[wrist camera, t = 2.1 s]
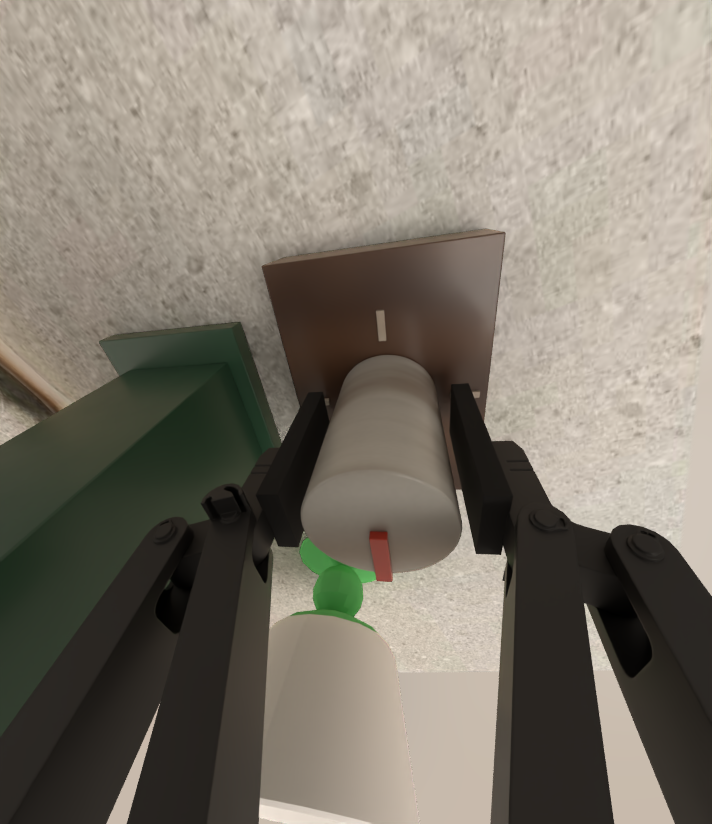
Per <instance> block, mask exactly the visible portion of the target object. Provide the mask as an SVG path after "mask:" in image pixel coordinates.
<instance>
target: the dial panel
mask: <svg viewBox="0 0 712 824" xmlns="http://www.w3.org/2000/svg"><path fill="white" fill-rule="evenodd" d="M504 242H505V232H501V231H496V230H491V229H481V230H474V231H466V232H459V233H452V234H445V235H438V236H431V237H424V238H417V239H410V240H403V241H396V242H389V243H382V244H375V245H368V246H361V247H354V248H347V249H340V250H333V251H326V252H319V253H312V254H305V255H298V256H291V257H284V258H281V259H279V260H276V261H273V262H271V263H268V264H266V265H263V266H262V270H263V273H264V277H265V280H266V284H267V288H268V291H269V295H270V299H271V302H272V306H273V310H274V313H275V317H276V321H277V324H278V328H279V332H280V335H281V339H282V343H283V346H284V350H285V353H286V357H287V361H288V364H289V368H290V372H291V375H292V379H293V383H294V386H295V390H296V394H297V397H298V401H299V405H300V408H301V406H302V404H303V402H304V400H305V398H306V396H307V394H308V392H323V394H324V398H325V403H326V408H327V412H328V417H329V421H330V420H331V417H332V414H333V412H334V409H335V406H336V403H337V400H338V397H339V394H340V391H341V388H342V385H343V382H344V380H345V378H346V376H347V375H348V373H349V372H350V371H351V370H352V369H353V368H354V367H355V366H356V365H357V364H359V363H360V362H362V361H364V360H366V359H369V358H371V357H375V356H380V355H397V356H401V357H405V358H408V359H410V360H412V361H414V362H416V363H418V364H419V365H420V366H422V367H423V368H424V369H425V370H426V371H427V372H428V374H429V375H430V376H431V378H432V380H433V382H434V385H435V388H436V393H437V398H438V403H439V408H440V413H441V418H442V423H443V428H444V434H445V439H446V444H447V449H448V454H449V459H450V464H451V469H452V474H453V479H454V485H455V490H462V488H461V483H460V478H459V474H458V469H457V465H456V460H455V456H454V451H453V447H452V442H451V437H450V433H449V427H450V402H451V384H463V383H469V385H470V388H471V390H472V393H473V396H474V398H475V401H476V403H477V406H478V408H479V411H480V413H481V416H482V418H483V421H484V417H485V408H486V399H487V391H488V382H489V373H490V364H491V356H492V347H493V338H494V330H495V321H496V312H497V303H498V295H499V286H500V277H501V269H502V260H503V251H504Z"/></svg>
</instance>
